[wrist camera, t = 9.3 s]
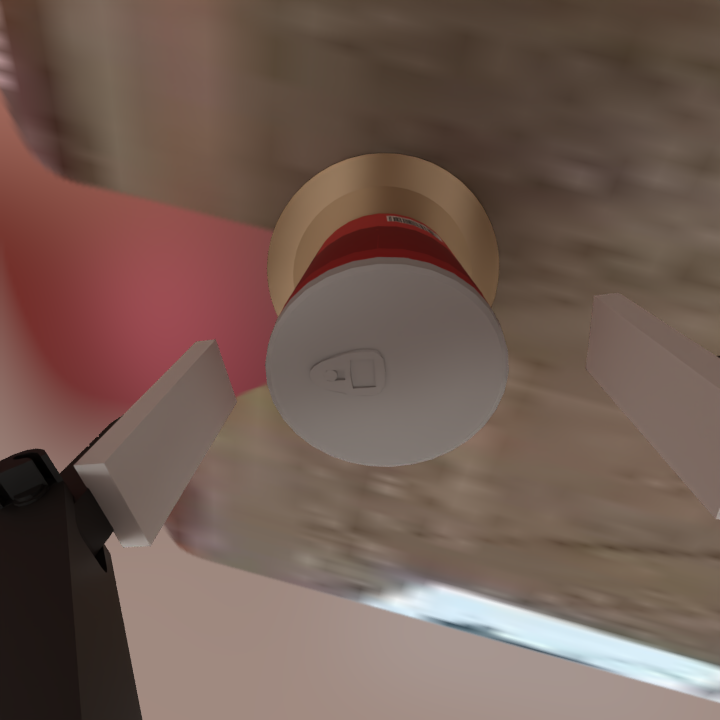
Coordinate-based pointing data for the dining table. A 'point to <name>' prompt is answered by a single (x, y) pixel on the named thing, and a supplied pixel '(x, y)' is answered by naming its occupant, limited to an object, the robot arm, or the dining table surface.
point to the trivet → (386, 196)
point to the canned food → (386, 347)
